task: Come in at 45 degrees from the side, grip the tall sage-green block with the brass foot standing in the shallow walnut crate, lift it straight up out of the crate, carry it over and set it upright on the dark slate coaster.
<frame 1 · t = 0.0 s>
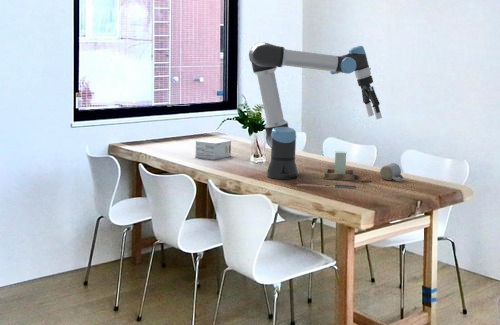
hand: (375, 117, 343), 28 cm above the table, tool tilted 20°, fingers open, 13 cm apart
block: (339, 176, 326), point 1 cm above the table, touching crate
supplement box: (213, 157, 383), on the table
coaster: (345, 186, 309), on the table
ceramic mug: (392, 180, 327), on the table
crate: (339, 178, 326), on the table
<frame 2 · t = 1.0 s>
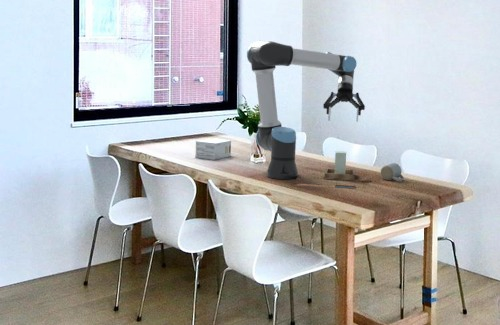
hand: (343, 119, 332), 28 cm above the table, tool tilted 45°, fingers open, 13 cm apart
nothing on the table moved.
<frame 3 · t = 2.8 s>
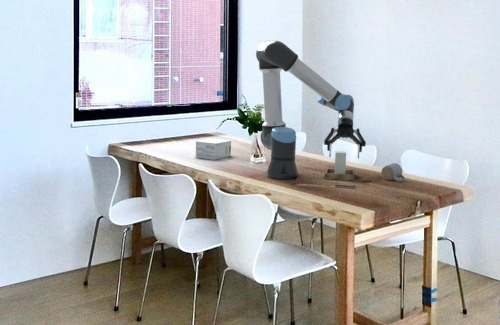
hand: (344, 156, 329), 10 cm above the table, tool tilted 45°, fingers open, 13 cm apart
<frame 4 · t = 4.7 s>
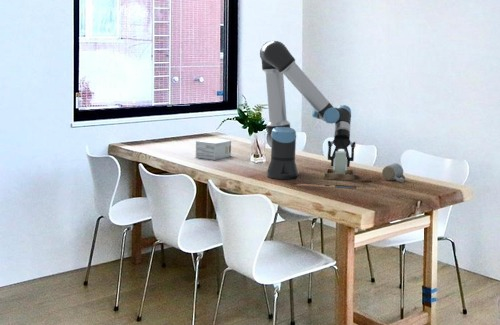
hand: (339, 171, 322), 4 cm above the table, tool tilted 45°, fingers closed on block, 5 cm apart
block: (339, 176, 326), point 1 cm above the table, touching crate, gripper
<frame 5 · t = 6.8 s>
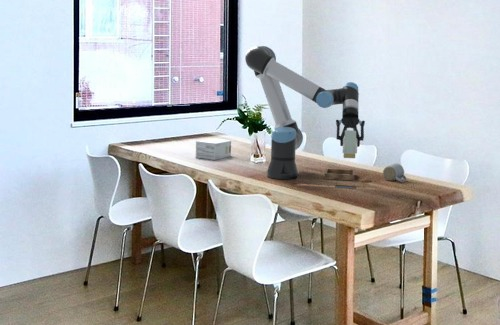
hand: (349, 151, 309), 16 cm above the table, tool tilted 45°, fingers closed on block, 5 cm apart
block: (349, 157, 313), point 12 cm above the table, touching gripper
when the fingers open (6 cm above the table, at t = 9.4 s): block drops 2 cm, resting on coaster.
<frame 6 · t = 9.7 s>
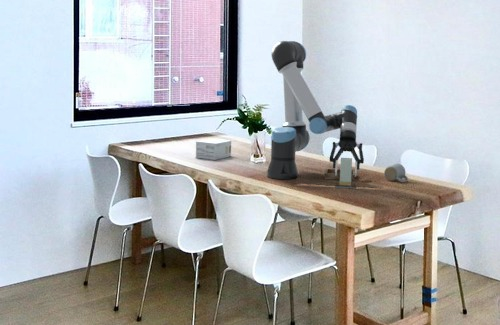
hand: (345, 174, 305), 6 cm above the table, tool tilted 45°, fingers open, 8 cm apart
block: (345, 184, 309), point 1 cm above the table, touching coaster
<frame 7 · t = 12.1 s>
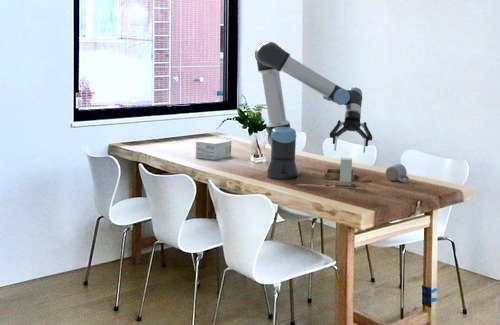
hand: (349, 149, 321), 15 cm above the table, tool tilted 45°, fingers open, 13 cm apart
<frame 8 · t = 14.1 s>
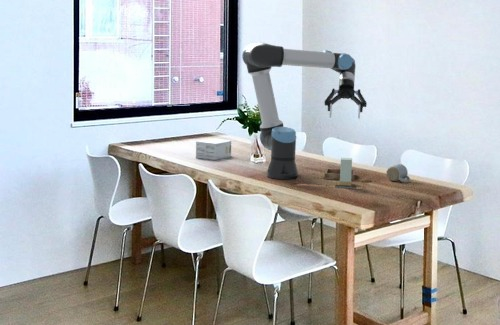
hand: (344, 116, 326), 30 cm above the table, tool tilted 45°, fingers open, 13 cm apart
at the end: block inside the target area on the coaster (0.1 cm from its centre), point 0.6 cm above the coaster's base; block tilted 0°; the gripper is holding nothing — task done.
